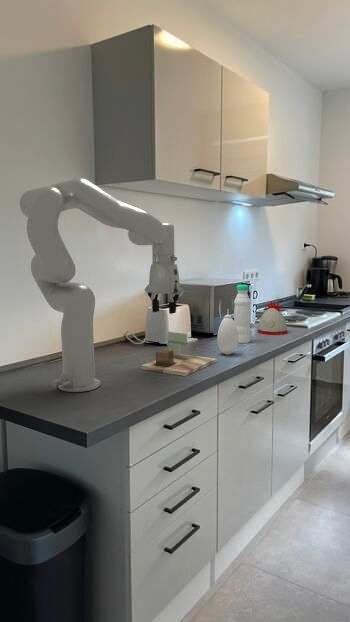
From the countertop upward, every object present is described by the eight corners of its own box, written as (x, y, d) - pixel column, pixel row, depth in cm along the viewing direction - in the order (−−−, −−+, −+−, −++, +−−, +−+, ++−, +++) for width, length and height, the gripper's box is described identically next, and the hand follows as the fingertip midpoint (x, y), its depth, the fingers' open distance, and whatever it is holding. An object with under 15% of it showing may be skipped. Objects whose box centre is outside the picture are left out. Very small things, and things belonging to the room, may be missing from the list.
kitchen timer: (281, 336, 222) (281, 304, 220) (253, 333, 229) (253, 302, 227) (290, 331, 233) (291, 300, 231) (264, 328, 241) (264, 299, 239)
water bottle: (237, 344, 205) (238, 285, 202) (231, 340, 212) (231, 284, 208) (252, 343, 207) (253, 285, 204) (246, 339, 214) (246, 283, 210)
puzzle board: (185, 376, 157) (185, 372, 156) (140, 369, 166) (140, 365, 166) (216, 361, 175) (216, 358, 175) (175, 356, 185) (175, 352, 184)
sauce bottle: (213, 354, 187) (213, 308, 184) (226, 351, 192) (226, 306, 190) (229, 357, 181) (229, 310, 179) (241, 354, 187) (242, 308, 184)
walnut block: (166, 369, 165) (166, 352, 164) (155, 368, 167) (155, 351, 167) (173, 367, 169) (173, 350, 168) (163, 365, 171) (162, 348, 170)
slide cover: (186, 359, 172) (186, 333, 171) (167, 356, 177) (167, 331, 175) (197, 355, 179) (197, 330, 178) (179, 352, 183) (179, 328, 182)
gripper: (191, 260, 161) (191, 312, 164) (149, 259, 171) (150, 309, 173) (179, 260, 155) (179, 315, 158) (136, 260, 164) (137, 312, 167)
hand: (164, 312), depth 165 cm, fingers open, 6 cm apart
